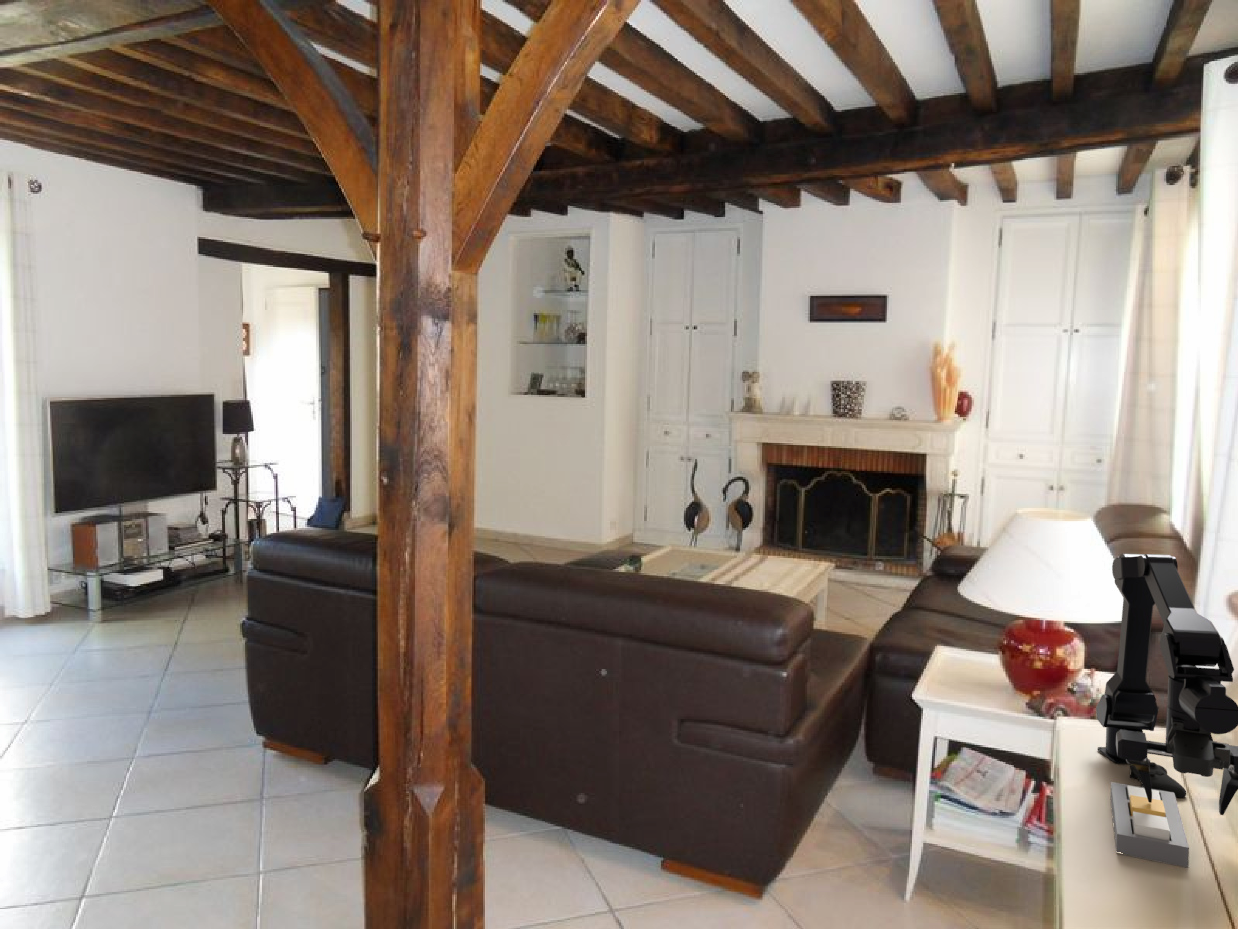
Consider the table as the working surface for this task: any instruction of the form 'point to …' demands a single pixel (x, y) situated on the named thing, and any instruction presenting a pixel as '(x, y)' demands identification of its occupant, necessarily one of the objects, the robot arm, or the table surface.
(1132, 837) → the switch strip
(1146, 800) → the button mid
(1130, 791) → the button
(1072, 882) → the table surface
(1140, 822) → the button
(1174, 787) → the game controller
